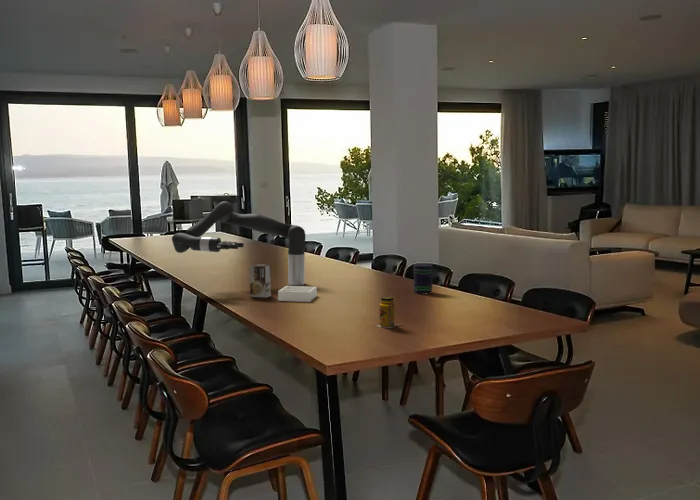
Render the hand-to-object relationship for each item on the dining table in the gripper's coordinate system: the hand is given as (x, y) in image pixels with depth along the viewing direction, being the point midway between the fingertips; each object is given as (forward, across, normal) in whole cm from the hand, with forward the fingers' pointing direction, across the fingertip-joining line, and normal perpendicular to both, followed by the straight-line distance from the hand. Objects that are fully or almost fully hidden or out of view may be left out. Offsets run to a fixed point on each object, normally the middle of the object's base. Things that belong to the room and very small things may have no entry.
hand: (240, 246), depth 336 cm
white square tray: (+31, -4, +24) cm, 40 cm away
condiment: (+82, -56, +24) cm, 102 cm away
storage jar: (+93, +24, +23) cm, 98 cm away
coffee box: (+12, -2, +25) cm, 28 cm away
